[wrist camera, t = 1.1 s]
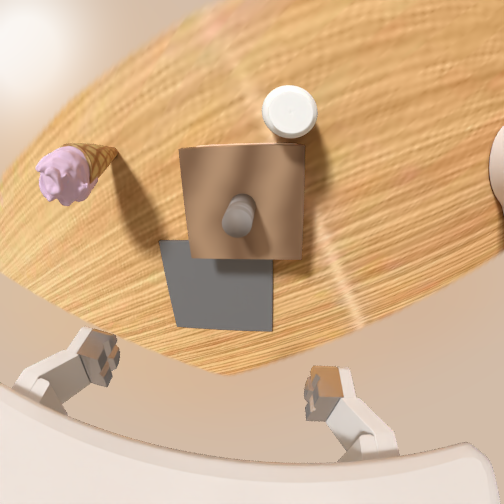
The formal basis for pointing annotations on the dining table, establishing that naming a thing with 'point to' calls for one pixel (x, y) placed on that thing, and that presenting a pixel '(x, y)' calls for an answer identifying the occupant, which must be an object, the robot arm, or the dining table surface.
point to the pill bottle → (289, 111)
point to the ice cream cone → (73, 171)
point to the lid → (244, 200)
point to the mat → (218, 290)
